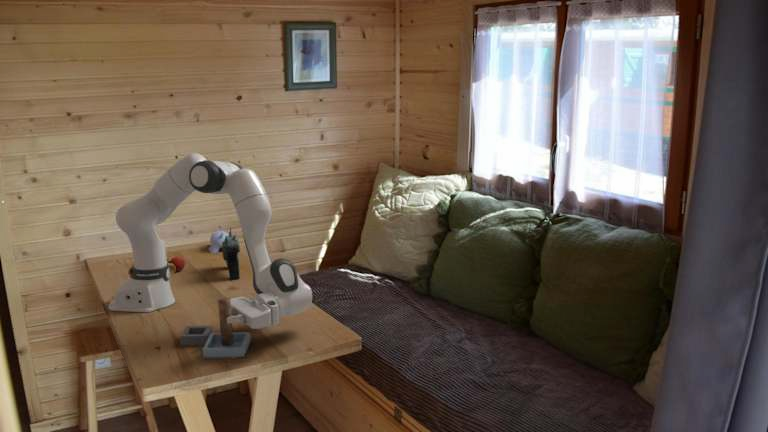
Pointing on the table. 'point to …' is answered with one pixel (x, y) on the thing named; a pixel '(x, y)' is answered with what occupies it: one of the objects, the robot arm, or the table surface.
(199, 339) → the socket block
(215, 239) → the hippopotamus toy
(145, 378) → the table surface
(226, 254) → the ceramic cat
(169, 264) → the kendama
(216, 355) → the tray
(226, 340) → the dowel
